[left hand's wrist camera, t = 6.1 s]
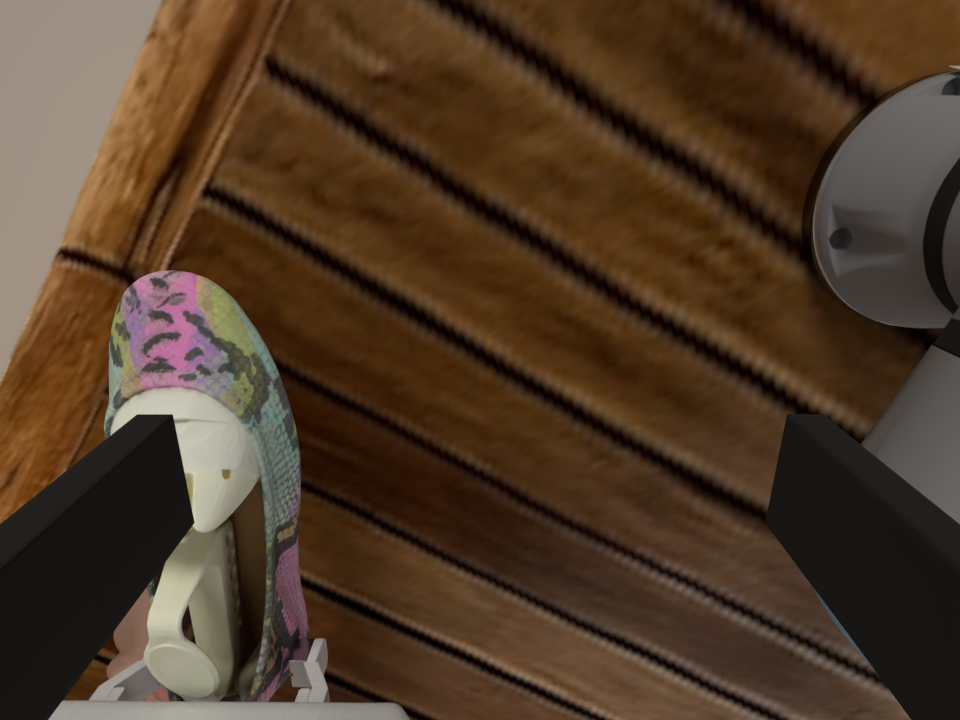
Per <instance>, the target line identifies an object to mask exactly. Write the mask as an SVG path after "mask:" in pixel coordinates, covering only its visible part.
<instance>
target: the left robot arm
mask: <svg viewBox="0 0 960 720" xmlns="http://www.w3.org/2000/svg"><path fill="white" fill-rule="evenodd" d="M950 67H954V68H957V69H960V66H950ZM803 228H804V241H805V248H806V252H807V256H808V259H809V262H810V264H811V267H812V269H813V271H814V273H815V275H816V277H817V279H818V280H819V282H820V283H821V284H822V286H823V287H824V288H825V289H826V291H827V292H828V293H829V294H830V295H831V296H832V297H833V298H835V299H836V300H837V301H838V302H840V303H841V304H843V305H844V306H845V307H847V308H849V309H851V310H853V311H855V312H857V313H859V314H861V315H863V316H865V317H868V318H870V319H873V320H875V321H878V322H881V323H885V324H888V325H894V326H900V327H909V328H944V329H943V331H942V332H941V333H940V335H939V336H938V338H937V339H936V340H935V342H934V343H933V345H931V347H930V348H929V350H928V351H927V353H926V354H925V355H924V357H923V358H922V359H921V361H920V362H919V364H918V365H917V366H916V368H915V369H914V371H913V372H912V373H911V375H910V376H909V378H908V379H907V380H906V382H905V383H904V384H903V386H902V387H901V389H900V390H899V391H898V393H897V394H896V396H895V397H894V398H893V400H892V401H891V402H890V404H889V405H888V407H887V408H886V409H885V411H884V412H883V414H882V415H881V416H880V418H879V419H878V421H877V422H876V423H875V425H874V426H873V427H872V429H871V430H870V432H869V433H868V434H867V436H866V437H865V439H864V440H863V441H862V443H861V444H859V443H858V442H857V441H855V440H854V439H853V438H852V437H850V436H849V435H848V434H847V433H846V432H844V431H843V430H842V429H841V428H839V427H838V426H837V425H836V424H834V423H833V422H832V421H831V420H829V419H828V418H827V417H826V416H824V415H823V414H787V418H786V423H785V428H784V433H783V438H782V443H781V448H780V452H779V457H778V462H777V467H776V472H775V477H774V482H773V487H772V492H771V497H770V502H769V507H768V512H767V517H766V522H765V523H766V524H767V526H768V527H769V528H770V530H771V531H772V532H773V534H774V535H775V536H776V538H777V539H778V541H779V542H780V543H781V545H782V546H783V547H784V549H785V550H786V551H787V553H788V554H789V555H790V557H791V558H792V559H793V561H794V562H795V563H796V565H797V566H798V567H799V569H800V570H801V571H802V573H803V574H804V576H805V577H806V578H807V580H808V581H809V582H810V584H811V585H812V587H813V589H814V591H815V593H816V595H817V597H818V599H819V600H820V602H821V603H822V605H823V607H824V608H825V610H826V611H827V613H828V614H829V616H830V617H831V619H832V620H833V622H834V623H835V624H836V626H837V627H838V628H839V630H840V631H841V632H842V633H843V635H844V636H845V637H846V638H847V640H848V641H849V642H850V643H851V644H852V645H853V647H854V648H855V649H856V650H857V651H858V652H859V653H860V655H861V656H862V657H863V658H864V659H865V660H866V661H867V662H868V663H869V664H870V665H871V666H872V667H873V668H874V670H875V671H876V672H877V674H878V675H879V676H880V678H881V679H882V680H883V682H884V683H885V684H886V686H887V687H888V689H889V690H890V691H891V693H892V694H893V695H894V697H895V698H896V699H897V701H898V702H899V703H900V705H901V706H902V707H903V709H904V710H905V711H906V713H907V714H908V715H909V717H910V718H911V719H912V720H960V70H955V71H949V72H943V73H937V74H933V75H928V76H924V77H921V78H918V79H915V80H912V81H910V82H907V83H905V84H903V85H901V86H898V87H896V88H895V89H893V90H891V91H889V92H887V93H886V94H884V95H882V96H881V97H879V98H878V99H876V100H875V101H873V102H872V103H871V104H870V105H868V106H867V107H866V108H865V109H863V110H862V111H861V112H860V113H859V114H858V115H857V116H855V117H854V118H853V119H852V120H851V121H850V122H849V123H848V124H847V126H846V127H845V128H844V129H843V130H842V131H841V132H840V134H839V135H838V136H837V137H836V139H835V140H834V141H833V143H832V144H831V146H830V147H829V149H828V150H827V152H826V153H825V155H824V157H823V159H822V160H821V162H820V164H819V166H818V168H817V170H816V173H815V175H814V177H813V180H812V183H811V186H810V189H809V192H808V196H807V200H806V205H805V212H804V226H803ZM194 523H195V522H194V517H193V512H192V507H191V502H190V497H189V492H188V487H187V482H186V477H185V472H184V467H183V462H182V457H181V452H180V448H179V443H178V438H177V433H176V428H175V423H174V418H173V414H137V415H136V416H134V417H133V418H132V419H131V420H129V421H128V422H127V423H126V424H124V425H123V426H122V427H121V428H119V429H118V430H117V431H116V432H114V433H113V434H112V435H111V436H109V437H108V438H107V439H106V440H105V441H103V442H102V443H101V444H100V445H98V446H97V447H96V448H95V449H93V450H92V451H91V452H90V453H88V454H87V455H86V456H85V457H83V458H82V459H81V460H80V461H78V462H77V463H76V464H75V465H73V466H72V467H71V468H70V469H68V470H67V471H66V472H65V473H63V474H62V475H61V476H60V477H58V478H57V479H56V480H55V481H53V482H52V483H51V484H50V485H48V486H47V487H46V488H45V489H44V490H42V491H41V492H40V493H39V494H37V495H36V496H35V497H34V498H32V499H31V500H30V501H29V502H27V503H26V504H25V505H24V506H22V507H21V508H20V509H19V510H17V511H16V512H15V513H14V514H12V515H11V516H10V517H9V518H7V519H6V520H5V521H4V522H2V523H1V524H0V720H48V719H49V718H50V717H51V715H52V714H53V713H54V711H55V710H56V709H57V707H58V706H59V705H60V703H61V702H62V701H63V699H64V698H65V697H66V695H67V694H68V693H69V691H70V690H71V689H72V687H73V686H74V684H75V683H76V682H77V680H78V679H79V678H80V676H81V675H82V674H83V672H84V671H85V670H86V668H87V667H88V666H89V664H90V663H91V662H92V660H93V659H94V658H95V656H96V655H97V654H98V652H99V651H100V650H101V648H102V647H103V645H104V644H105V643H106V641H107V640H108V639H109V637H110V636H111V635H112V633H113V632H114V631H115V629H116V628H117V627H118V625H119V624H120V623H121V621H122V620H123V619H124V617H125V616H126V615H127V613H128V612H129V610H130V609H131V608H132V606H133V605H134V604H135V602H136V601H137V600H138V598H139V597H140V596H141V594H142V593H143V592H144V590H145V589H146V588H147V586H148V585H149V584H150V582H151V581H152V580H153V578H154V577H155V576H156V574H157V573H158V571H159V570H160V569H161V567H162V566H163V565H164V563H165V562H166V561H167V559H168V558H169V557H170V555H171V554H172V553H173V551H174V550H175V549H176V547H177V546H178V545H179V543H180V542H181V541H182V539H183V538H184V536H185V535H186V534H187V532H188V531H189V530H190V528H191V527H192V526H193V524H194Z"/></svg>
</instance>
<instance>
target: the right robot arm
mask: <svg viewBox="0 0 960 720" xmlns="http://www.w3.org/2000/svg"><path fill="white" fill-rule="evenodd" d="M295 647H296V648H295V649H294V650H293V651H292V653H291V655H290V658H289V661H288V663H289V669H290V671H291V672H292V676H291V681H292V687H307V688H301V689H300V690H299V692H298V694H297V697H296V700H295V702H214V701H144V700H145V699H146V698H147V697H149V696H150V695H151V694H152V693H153V692H155V691H156V690H157V689H158V688H159V686H164V685H162V684H161V683H160V682H159V681H158V680H157V679H156V678H155V677H154V676H153V675H152V673H151V672H150V670H149V669H148V667H147V665H146V663H145V660H144V657H143V658H142V660H141V661H137V662H136V663H134V664H132V665H131V666H129V667H128V668H126V669H125V670H123V671H122V672H120V673H118V674H117V675H115V676H114V677H112V678H111V679H109V680H108V681H106V682H105V683H103V684H101V685H100V686H99V687H98V688H97V689H96V691H95V692H94V694H93V695H92V696H91V698H90V699H89V700H63V701H62V702H61V703H60V705H59V706H58V707H57V709H56V710H55V711H54V713H53V714H52V715H51V717H50V718H49V719H48V720H410V718H409V717H408V715H407V714H406V712H405V711H404V710H403V708H402V707H401V706H400V705H398V704H396V703H343V702H330V699H329V692H328V687H327V684H326V681H325V679H324V673H325V669H326V666H327V660H328V652H327V644H326V639H325V638H299V639H297V641H296V643H295Z"/></svg>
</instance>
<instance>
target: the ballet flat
mask: <svg viewBox="0 0 960 720" xmlns="http://www.w3.org/2000/svg"><path fill="white" fill-rule="evenodd" d="M137 414H173V418H174V423H175V428H176V433H177V438H178V443H179V448H180V452H181V457H182V462H183V467H184V472H185V477H186V482H187V487H188V492H189V497H190V502H191V507H192V512H193V517H194V522H195V523H194V524H193V526H192V527H191V528H190V530H189V531H188V532H187V534H186V535H185V536H184V538H183V539H182V541H181V542H180V543H179V545H178V546H177V547H176V549H175V550H174V551H173V553H172V554H171V555H170V557H169V558H168V559H167V561H166V562H165V563H164V565H163V566H162V567H161V569H160V570H159V571H158V573H157V574H156V576H155V577H154V578H153V580H152V581H151V582H150V584H149V585H148V586H147V589H148V595H149V598H150V604H151V608H150V611H149V615H148V620H147V629H148V635H149V643H148V645H147V646H146V649H145V651H144V660H145V663H146V665H147V667H148V669H149V670H150V672H151V673H152V675H153V676H154V677H155V678H156V679H157V680H158V681H159V682H160V683H161V684H162V685H164V686H165V688H166V692H167V695H168V698H169V701H214V702H268V701H269V699H270V698H271V696H272V695H273V694H274V692H275V691H276V690H277V689H278V688H279V687H280V686H281V685H282V684H283V683H284V682H285V681H286V680H287V679H288V678H289V677H290V676H291V675H292V672H291V671H290V669H289V663H288V661H289V658H290V655H291V653H292V651H293V650H294V649H295V648H296V647H295V643H296V641H297V639H299V638H310V636H311V634H310V625H309V621H308V617H307V613H306V605H305V601H304V597H303V592H302V586H301V582H300V571H299V559H298V552H299V549H298V529H299V525H298V523H299V512H300V498H301V465H300V449H299V442H298V436H297V431H296V426H295V422H294V418H293V415H292V411H291V407H290V404H289V401H288V397H287V394H286V391H285V389H284V386H283V383H282V380H281V377H280V375H279V372H278V370H277V367H276V365H275V363H274V361H273V359H272V357H271V355H270V353H269V350H268V348H267V346H266V345H265V343H264V342H263V340H262V338H261V336H260V334H259V333H258V331H257V330H256V328H255V327H254V326H253V324H252V323H251V321H250V320H249V318H248V317H247V316H246V314H245V313H244V311H243V310H242V309H241V307H240V306H239V305H238V303H237V302H236V301H235V300H234V298H232V297H231V296H230V295H229V294H228V293H227V292H226V291H224V290H223V289H222V288H221V287H219V286H218V285H217V284H216V283H214V282H212V281H211V280H209V279H207V278H205V277H202V276H199V275H196V274H193V273H189V272H184V271H159V272H154V273H151V274H148V275H146V276H144V277H142V278H140V279H138V280H137V281H136V282H134V283H133V284H132V285H131V286H130V287H129V288H128V289H127V290H126V291H125V292H124V294H123V296H122V298H121V300H120V302H119V304H118V307H117V310H116V313H115V317H114V320H113V324H112V329H111V336H110V344H109V406H108V408H107V411H106V416H105V424H104V434H105V440H106V439H107V438H108V437H109V436H111V435H112V434H113V433H114V432H116V431H117V430H118V429H119V428H121V427H122V426H123V425H124V424H126V423H127V422H128V421H129V420H131V419H132V418H133V417H134V416H136V415H137Z"/></svg>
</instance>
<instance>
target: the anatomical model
mask: <svg viewBox="0 0 960 720" xmlns="http://www.w3.org/2000/svg"><path fill="white" fill-rule="evenodd" d="M150 608H151V604H150V598H149V595H148V589H147V588H146V589H145V590H144V592H143V593H142V594H141V596H140V597H139V598H138V600H137V601H136V602H135V604H134V605H133V606H132V608H131V609H130V610H129V612H128V613H127V615H126V616H125V617H124V619H123V620H122V621H121V623H120V624H119V625H118V627H117V628H116V629H115V631H114V642H115V645H116V647H117V649H118V650H119V651H120V653H119V654H118V655H117V656H116V657H115V658H114V659H113V660H112V661H111V662H110V664H109V666H108V668H107V676H108V678H109V679H111V678H112V677H114V676H115V675H117V674H118V673H120V672H122V671H123V670H125V669H126V668H128V667H129V666H131V665H132V664H134V663H136V662H137V661H141V660H142V658H143V657H144V651H145V649H146V646H147V645H148V643H149V635H148V629H147V620H148V615H149V611H150ZM144 701H169V698H168V695H167V692H166V688H165V686H159V688H158V689H157V690H156V691H155V692H153V693H152V694H151V695H150V696H149V697H147V698H146V699H145V700H144Z"/></svg>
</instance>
